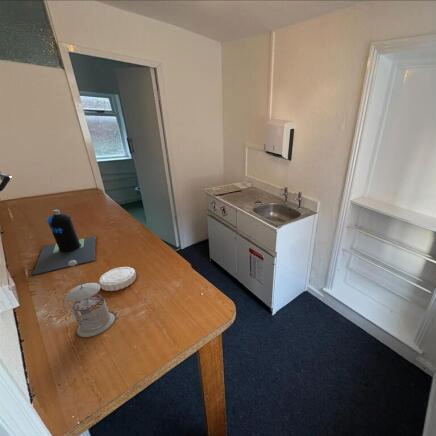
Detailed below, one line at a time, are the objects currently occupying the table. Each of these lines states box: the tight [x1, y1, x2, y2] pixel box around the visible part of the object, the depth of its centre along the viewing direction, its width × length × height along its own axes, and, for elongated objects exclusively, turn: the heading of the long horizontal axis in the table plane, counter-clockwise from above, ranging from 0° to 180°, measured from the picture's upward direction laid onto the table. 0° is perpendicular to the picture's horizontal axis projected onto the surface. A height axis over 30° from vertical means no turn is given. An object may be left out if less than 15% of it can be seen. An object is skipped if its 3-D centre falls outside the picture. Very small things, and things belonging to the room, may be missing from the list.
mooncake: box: [98, 266, 137, 292], centre depth 94 cm, size 12×12×4 cm
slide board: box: [32, 236, 96, 276], centre depth 110 cm, size 20×26×1 cm
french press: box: [61, 260, 116, 338], centre depth 71 cm, size 10×12×25 cm
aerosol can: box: [46, 209, 81, 252], centre depth 109 cm, size 8×8×20 cm
